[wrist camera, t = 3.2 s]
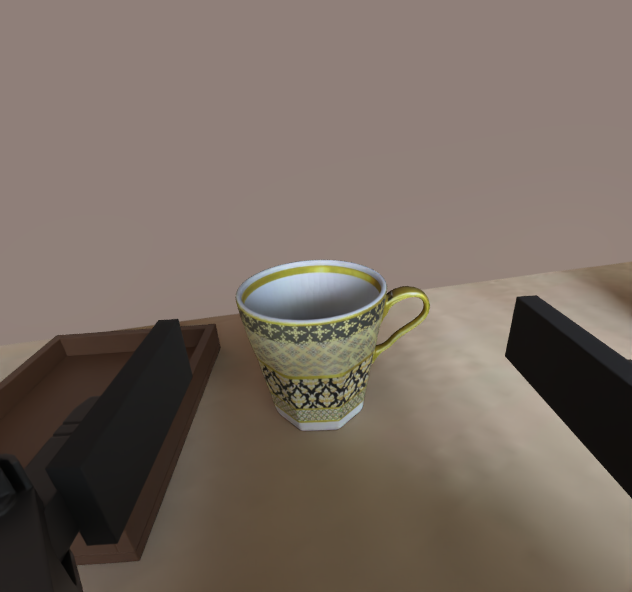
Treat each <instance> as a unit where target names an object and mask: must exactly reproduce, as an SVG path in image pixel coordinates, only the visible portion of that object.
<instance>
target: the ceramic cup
mask: <svg viewBox="0 0 632 592" xmlns="http://www.w3.org/2000/svg"><path fill="white" fill-rule="evenodd" d="M386 292H387V284H386V281H385V280H384V278H383V277H382V276H381V275H380V274H379V273H378V272H376V271H374V270H373V269H370V268H368V267H366V266H363V265H360V264H356V263H352V262H346V261H337V260H336V261H335V260H308V261H298V262H292V263H287V264H283V265H279V266H275V267H272V268H269V269H266V270H263V271H261V272H259V273H257V274H255V275H253V276H251V277H250V278H248V279H247V280H246V281H245V282H243V283H242V284H241V286H240V287H239V288H238V290H237V293H236V303H237V306H238V310H239V313H240V317H241V320H242V322H243V325H244V328H245V331H246V333H247V336H248V339H249V341H250V343H251V346H252V348H253V350H254V352H255V354H256V356H257V358H258V361H259V364H260V367H261V370H262V373H263V375H264V378H265V380H266V383H267V385H268V388H269V390H270V393H271V396H272V399H273V402H274V404H275V406H276V409H277V411H278V413H279V414H280V415H282V416H283V417H284V418H285V419H287V420H288V421H289V422H291V423H292V424H293V425H295V426H296V427H297V428H298V429H300V430H301V431H313V430H337V429H339V428H341V427H342V426H343V425H344V424H345V423H347V422H348V421H349V420H350V419H351V418H352V417H354V416H355V415H356V414H357V413H358V412H359V411H361V409H362V407H363V402H364V396H365V391H366V386H367V382H368V378H369V374H370V368H371V364H372V363H374V361H375V360H376V358H377V357H378V356H379V354H380V353H381V352H383V351H384V350H386V349H387V348H389V347H390V346H391V345H392V344H393V343H394V342H395V341H396V340H397V339H398V338H400V337H401V336H402V335H404V334H405V333H407V332H409V331H410V330H412V329H413V328H415V327H416V326H417V325H419V324H420V323H421V322H422V321H423V320H424V319H425V318H426V316H427V315H428V313H429V309H430V304H429V300H428V298H427V296H426V294H425V293H424V292H423V291H422V290H420V289H418V288H415V287H409V286H403V287H399V288H395V289H393V290H391V291H390V292H388V293H387V294H386ZM410 297H418V298H420V299H422V301H423V304H424V306H423V310H422V312H421V313H420V314H419V316H417V317H416V318H415V319H414V320H412V321H411V322H409V323H408V324H406V325H405V326H403V327H402V328H400V329H399V330H397V331H396V332H395V333H394V334H393V335H392V336H391V337H390V338H389V339H388V340H387V341H385V342H384V343H382V344H379V345H376V341H377V335H378V331H379V328H380V324H381V323H382V321H383V318H384V317H385V316H386V315H387V313H388V311H389V309H390V308H391V306H393V305H394V304H396V303H397V302H399V301H401V300H403V299H406V298H410Z"/></svg>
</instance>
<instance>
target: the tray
mask: <svg viewBox="0 0 632 592" xmlns="http://www.w3.org/2000/svg"><path fill="white" fill-rule="evenodd" d="M180 328H181V332H182V335H183V339H184V343H185V347H186V351H187V355H188V359H189V363H190V367H191V371H192V375H193V378H192V380H191V382H190V384H189V387H188V389H187V391H186V393H185V395H184V398H183V400H182V402H181V404H180V407H179V409H178V411H177V413H176V415H175V418H174V420H173V422H172V424H171V427H170V429H169V431H168V433H167V435H166V438H165V440H164V442H163V444H162V447H161V449H160V451H159V453H158V455H157V458H156V460H155V462H154V464H153V466H152V469H151V471H150V473H149V475H148V478H147V480H146V482H145V484H144V486H143V489H142V491H141V493H140V495H139V498H138V500H137V502H136V504H135V506H134V509H133V511H132V513H131V515H130V518H129V520H128V522H127V524H126V526H125V529H124V531H123V533H122V535H121V537H120V540H119V542H118V544H108V545H93V546H87V545H86V543H85V541H84V540H83V538H82V536H81V534H80V532H78V534H77V536H76V538H75V539H74V541H73V543H72V545H71V547H70V549H71V551H72V553H73V555H74V557H75V561H76V565H87V564H101V563H114V562H128V561H139V560H140V558H141V555H142V552H143V550H144V547H145V544H146V542H147V539H148V537H149V534H150V531H151V529H152V526H153V523H154V521H155V518H156V516H157V513H158V510H159V508H160V505H161V502H162V500H163V497H164V494H165V492H166V489H167V487H168V484H169V481H170V479H171V476H172V473H173V471H174V468H175V466H176V463H177V460H178V458H179V455H180V452H181V450H182V447H183V445H184V442H185V439H186V437H187V434H188V431H189V429H190V426H191V424H192V421H193V418H194V416H195V413H196V410H197V408H198V405H199V402H200V400H201V397H202V395H203V392H204V389H205V387H206V384H207V381H208V379H209V376H210V374H211V371H212V368H213V366H214V363H215V360H216V358H217V355H218V353H219V350H220V344H219V338H218V334H217V329H216V324H208V325H194V326H181V327H180ZM151 330H152V329H139V330H125V331H111V332H98V333H85V334H70V335H57V336H55V337H54V338H53V339H52V340H51V341H49V342H48V343H47V344H46V345H45V346H43V347H42V348H41V349H40V350H39V351H37V352H36V353H35V354H34V355H33V356H31V357H30V358H29V359H28V360H27V361H25V362H24V363H23V364H22V365H21V366H20V367H18V368H17V369H16V370H15V371H14V372H12V373H11V374H10V375H9V376H8V377H6V378H5V379H4V380H3V381H2V382H0V454H5V453H7V454H12V455H15V456H16V458H17V459H18V460H19V462H20V464H21V466H22V467H23V469H25V467H26V466H27V465H28V464H29V463H30V461H31V460H32V459H33V458H34V456H35V455H36V454H37V453H38V452H39V450H40V449H41V448H42V447H43V446H44V444H45V443H46V442H47V441H48V440H49V438H50V437H53V433H54V432H55V431H56V430H57V429H58V427H59V426H60V425H62V424H63V421H64V420H65V419H66V418H67V417H68V415H69V414H70V413H71V412H72V411H73V409H74V408H76V407H77V406H78V405H80V404H81V403H82V402H84V401H85V400H86V399H88V398H89V397H91V396H101V395H102V393H103V392H104V391H105V390H106V388H107V387H108V386H109V384H110V383H111V382H112V380H113V379H114V378H115V377H116V375H117V374H118V373H119V371H120V370H121V369H122V367H123V366H124V365H125V363H126V362H127V361H128V360H129V358H130V357H131V356H132V354H133V353H134V352H135V350H136V349H137V348H138V346H139V345H140V344H141V343H142V341H143V340H144V339H145V337H146V336H147V335H148V333H149V332H150V331H151Z"/></svg>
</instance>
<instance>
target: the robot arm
mask: <svg viewBox="0 0 632 592" xmlns="http://www.w3.org/2000/svg"><path fill="white" fill-rule="evenodd" d="M505 357H506V358H507V359H508V360H509V361H510V362H511V363H512V365H513V366H514V367H515V368H516V369H517V370H518V371H519V372H520V373H521V375H522V376H523V377H524V378H525V379H526V380H527V381H528V382H529V384H530V385H531V386H532V387H533V388H534V389H535V390H536V391H537V393H538V394H539V395H540V396H541V397H542V398H543V399H544V400H545V402H546V403H547V404H548V405H549V406H550V407H551V408H552V409H553V411H554V412H555V413H556V414H557V415H558V416H559V417H560V418H561V419H562V421H563V422H564V423H565V424H566V425H567V426H568V427H569V428H570V430H571V431H572V432H573V433H574V434H575V435H576V436H577V437H578V439H579V440H580V441H581V442H582V443H583V444H584V445H585V446H586V448H587V449H588V450H589V451H590V452H591V453H592V454H593V455H594V457H595V458H596V459H597V460H598V461H599V462H600V463H601V464H602V465H603V467H604V468H605V469H606V470H607V471H608V472H609V473H610V474H611V476H612V477H613V478H614V479H615V480H616V481H617V482H618V483H619V485H620V486H621V487H622V488H623V489H624V490H625V491H626V492H627V494H628V495H629V496H630V497H631V498H632V360H627V359H625V358H624V357H623V356H621V355H620V354H618V353H617V352H616V351H614V350H613V349H611V348H610V347H608V346H607V345H606V344H604V343H603V342H601V341H600V340H599V339H597V338H596V337H594V336H593V335H592V334H590V333H589V332H587V331H586V330H585V329H583V328H582V327H580V326H579V325H577V324H576V323H575V322H573V321H572V320H570V319H569V318H568V317H566V316H565V315H563V314H562V313H561V312H559V311H558V310H556V309H555V308H553V307H552V306H551V305H549V304H548V303H546V302H545V301H544V300H542V299H541V298H539V297H538V296H537V295H536V296H521V297H517V298H516V303H515V308H514V313H513V318H512V323H511V328H510V333H509V338H508V343H507V348H506V353H505ZM192 378H193V375H192V371H191V367H190V363H189V359H188V355H187V351H186V347H185V343H184V339H183V335H182V332H181V328H180V324H179V320H178V319H172V320H158V322H157V323H156V324H155V326H154V327H153V328H152V330H151V331H150V332H149V333H148V335H147V336H146V337H145V339H144V340H143V341H142V343H141V344H140V345H139V346H138V348H137V349H136V350H135V352H134V353H133V354H132V356H131V357H130V358H129V360H128V361H127V362H126V363H125V365H124V366H123V367H122V369H121V370H120V371H119V373H118V374H117V375H116V377H115V378H114V379H113V380H112V382H111V383H110V384H109V386H108V387H107V388H106V390H105V391H104V392H103V393H102V395H101V396H91V397H89V398H88V399H86V400H85V401H84V402H82V403H81V404H80V405H78V406H77V407H76V408H74V409H73V411H72V412H71V413H70V414H69V415H68V417H67V418H66V419H65V420H64V421H63V424H62V425H60V426H59V427H58V429H57V430H56V431H55V432H54V433H53V437H50V438H49V440H48V441H47V442H46V443H45V444H44V446H43V447H42V448H41V449H40V450H39V452H38V453H37V454H36V455H35V456H34V458H33V459H32V460H31V461H30V463H29V464H28V465H27V466H26V467H25V469H23V467H22V466H21V464H20V462H19V460H18V459H17V458H16V456H15V455H12V454H7V453H5V454H0V592H83V589H82V585H81V581H80V577H79V573H78V569H77V565H76V561H75V557H74V555H73V553H72V551H71V549H70V547H71V545H72V543H73V541H74V539H75V538H76V536H77V534H78V532H80V534H81V536H82V538H83V540H84V541H85V543H86V545H87V546H93V545H108V544H118V542H119V540H120V537H121V535H122V533H123V531H124V529H125V526H126V524H127V522H128V520H129V518H130V515H131V513H132V511H133V509H134V506H135V504H136V502H137V500H138V498H139V495H140V493H141V491H142V489H143V486H144V484H145V482H146V480H147V478H148V475H149V473H150V471H151V469H152V466H153V464H154V462H155V460H156V458H157V455H158V453H159V451H160V449H161V447H162V444H163V442H164V440H165V438H166V435H167V433H168V431H169V429H170V427H171V424H172V422H173V420H174V418H175V415H176V413H177V411H178V409H179V407H180V404H181V402H182V400H183V398H184V395H185V393H186V391H187V389H188V387H189V384H190V382H191V380H192Z"/></svg>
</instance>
